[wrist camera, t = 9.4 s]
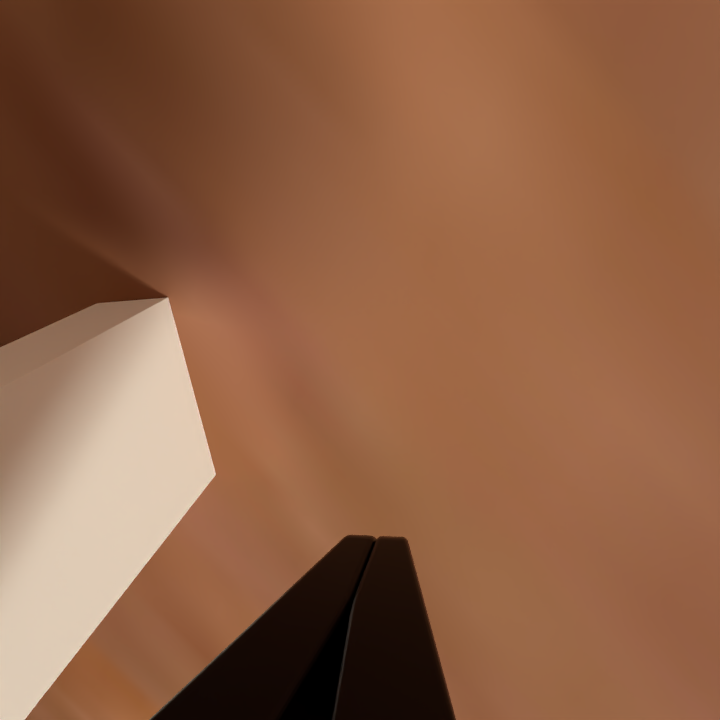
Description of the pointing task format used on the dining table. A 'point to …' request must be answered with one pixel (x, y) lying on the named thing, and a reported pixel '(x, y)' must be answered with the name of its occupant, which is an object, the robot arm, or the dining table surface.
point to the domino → (87, 478)
